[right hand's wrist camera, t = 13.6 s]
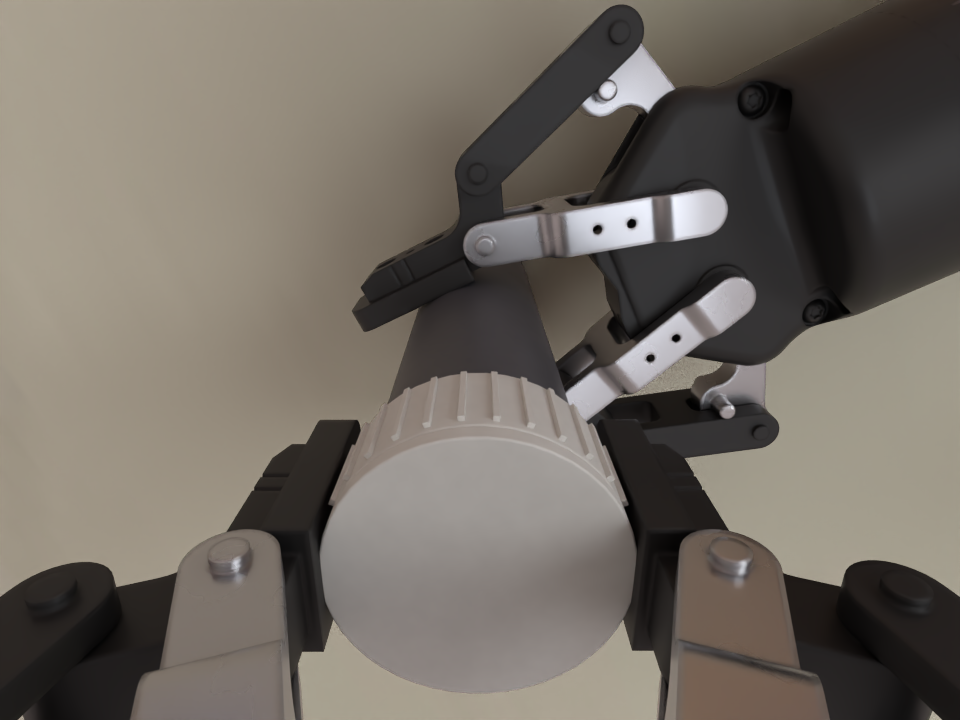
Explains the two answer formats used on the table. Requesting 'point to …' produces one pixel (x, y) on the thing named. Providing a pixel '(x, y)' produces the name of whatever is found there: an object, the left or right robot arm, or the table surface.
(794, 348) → the table surface
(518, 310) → the dark cylinder
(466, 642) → the lid
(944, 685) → the right robot arm
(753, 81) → the left robot arm
